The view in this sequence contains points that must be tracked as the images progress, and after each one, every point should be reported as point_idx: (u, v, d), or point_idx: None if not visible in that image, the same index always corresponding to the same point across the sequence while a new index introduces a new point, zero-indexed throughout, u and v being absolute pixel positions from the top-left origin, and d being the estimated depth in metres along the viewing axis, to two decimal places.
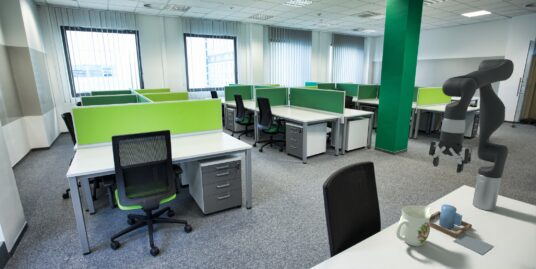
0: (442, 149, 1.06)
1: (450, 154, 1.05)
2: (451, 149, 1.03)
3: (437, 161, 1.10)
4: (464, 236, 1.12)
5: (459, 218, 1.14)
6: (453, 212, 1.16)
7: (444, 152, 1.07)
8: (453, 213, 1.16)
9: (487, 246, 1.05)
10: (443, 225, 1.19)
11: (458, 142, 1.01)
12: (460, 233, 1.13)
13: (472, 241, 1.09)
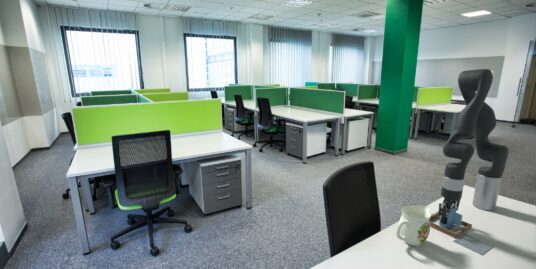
0: (452, 206, 1.15)
1: (452, 207, 1.18)
2: (456, 202, 1.17)
3: None
4: (464, 236, 1.12)
5: (460, 218, 1.14)
6: (453, 212, 1.16)
7: None
8: (453, 213, 1.16)
9: (487, 246, 1.05)
10: (443, 225, 1.19)
11: None
12: (460, 233, 1.13)
13: (472, 241, 1.09)
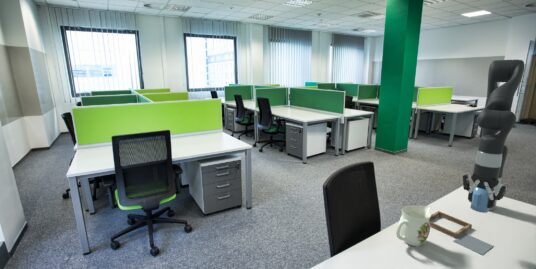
0: (476, 183, 1.02)
1: (485, 188, 1.00)
2: (486, 183, 0.99)
3: None
4: (464, 236, 1.12)
5: None
6: (476, 190, 1.02)
7: (478, 185, 1.02)
8: (476, 191, 1.02)
9: (487, 246, 1.05)
10: None
11: (494, 177, 0.97)
12: (460, 233, 1.13)
13: (472, 241, 1.09)
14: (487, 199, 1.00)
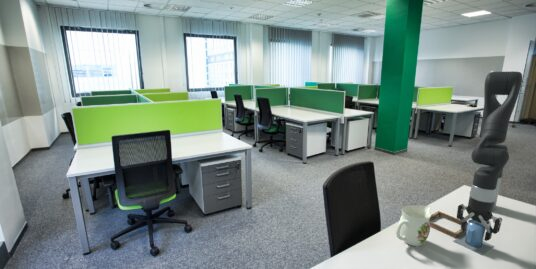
0: (471, 215, 1.05)
1: (479, 221, 1.03)
2: (480, 217, 1.02)
3: (465, 225, 1.09)
4: (464, 236, 1.12)
5: None
6: (470, 225, 1.05)
7: (472, 218, 1.05)
8: (470, 227, 1.05)
9: (487, 246, 1.05)
10: None
11: (488, 211, 1.00)
12: (460, 233, 1.13)
13: None
14: (481, 235, 1.03)
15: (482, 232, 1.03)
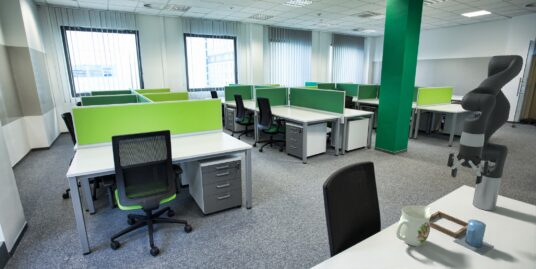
0: (461, 161, 1.10)
1: (469, 166, 1.09)
2: (470, 162, 1.07)
3: (455, 172, 1.14)
4: (464, 236, 1.12)
5: None
6: (470, 225, 1.05)
7: (463, 164, 1.10)
8: (470, 226, 1.05)
9: (487, 246, 1.05)
10: None
11: (477, 155, 1.05)
12: (460, 233, 1.13)
13: None
14: (481, 235, 1.03)
15: (482, 232, 1.03)
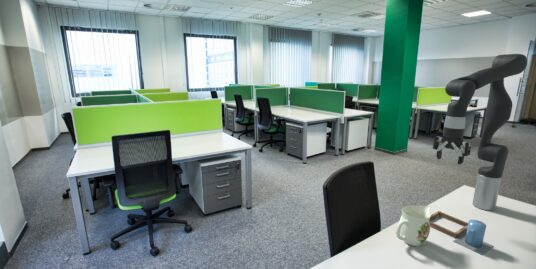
0: (445, 143, 1.19)
1: (452, 148, 1.18)
2: (453, 143, 1.16)
3: (440, 154, 1.23)
4: (464, 236, 1.12)
5: None
6: (470, 226, 1.05)
7: (446, 146, 1.19)
8: (470, 227, 1.05)
9: (487, 246, 1.05)
10: None
11: (459, 137, 1.14)
12: (460, 233, 1.13)
13: None
14: (481, 235, 1.03)
15: (482, 232, 1.03)
